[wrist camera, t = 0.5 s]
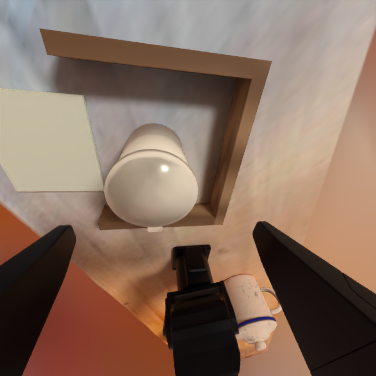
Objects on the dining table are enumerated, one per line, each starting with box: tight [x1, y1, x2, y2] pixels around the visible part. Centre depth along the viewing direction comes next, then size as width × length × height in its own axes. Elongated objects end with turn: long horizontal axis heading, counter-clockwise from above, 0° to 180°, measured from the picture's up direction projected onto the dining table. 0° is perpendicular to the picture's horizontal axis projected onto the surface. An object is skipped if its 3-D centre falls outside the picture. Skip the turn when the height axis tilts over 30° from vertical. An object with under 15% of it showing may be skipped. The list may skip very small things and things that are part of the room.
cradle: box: [40, 29, 272, 230], centre depth 17 cm, size 17×15×3 cm
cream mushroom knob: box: [104, 123, 198, 232], centre depth 16 cm, size 9×6×8 cm
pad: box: [0, 88, 104, 192], centre depth 16 cm, size 10×9×1 cm
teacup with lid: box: [224, 274, 282, 350], centre depth 35 cm, size 12×9×12 cm
